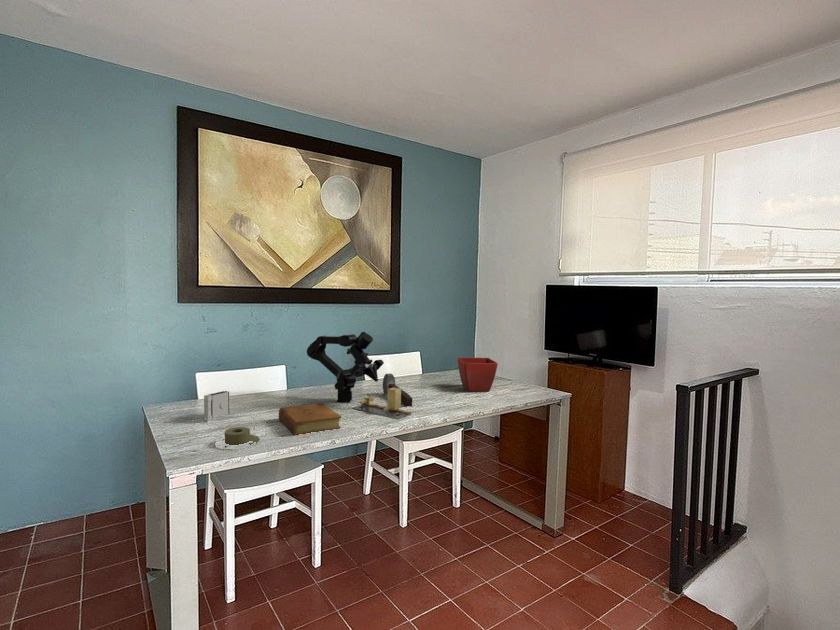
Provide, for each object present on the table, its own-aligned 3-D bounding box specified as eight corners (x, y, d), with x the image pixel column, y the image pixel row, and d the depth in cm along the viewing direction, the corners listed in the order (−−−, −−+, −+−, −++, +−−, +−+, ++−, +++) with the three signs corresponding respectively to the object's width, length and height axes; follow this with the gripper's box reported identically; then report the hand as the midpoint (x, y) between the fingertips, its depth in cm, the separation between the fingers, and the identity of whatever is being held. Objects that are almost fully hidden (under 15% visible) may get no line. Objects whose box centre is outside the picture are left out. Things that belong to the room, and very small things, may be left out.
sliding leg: (380, 412, 199) (380, 391, 199) (393, 407, 207) (393, 387, 207) (388, 413, 197) (388, 392, 196) (400, 409, 205) (401, 388, 204)
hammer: (413, 413, 215) (390, 392, 241) (415, 391, 213) (391, 372, 239) (404, 414, 213) (382, 392, 239) (405, 392, 211) (383, 372, 237)
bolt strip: (352, 408, 207) (352, 407, 207) (362, 405, 213) (362, 404, 213) (398, 419, 192) (398, 417, 192) (408, 415, 198) (408, 414, 198)
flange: (234, 422, 168) (204, 434, 154) (268, 427, 164) (240, 439, 150) (234, 434, 169) (204, 447, 154) (268, 439, 164) (240, 453, 150)
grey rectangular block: (207, 423, 181) (207, 398, 181) (197, 421, 183) (196, 397, 182) (230, 413, 195) (230, 391, 194) (220, 412, 196) (220, 390, 195)
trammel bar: (355, 407, 209) (355, 398, 209) (366, 404, 215) (366, 395, 215) (402, 418, 194) (402, 408, 194) (411, 414, 200) (412, 405, 200)
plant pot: (497, 393, 247) (498, 362, 246) (463, 393, 244) (464, 362, 243) (487, 385, 265) (488, 357, 264) (456, 385, 263) (456, 357, 262)
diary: (278, 421, 187) (278, 408, 187) (321, 415, 197) (321, 403, 197) (294, 437, 168) (294, 421, 167) (341, 429, 178) (341, 415, 177)
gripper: (363, 363, 226) (379, 388, 220) (337, 368, 210) (354, 394, 205) (375, 349, 221) (392, 374, 216) (349, 353, 206) (367, 380, 200)
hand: (377, 381), depth 209 cm, fingers closed
